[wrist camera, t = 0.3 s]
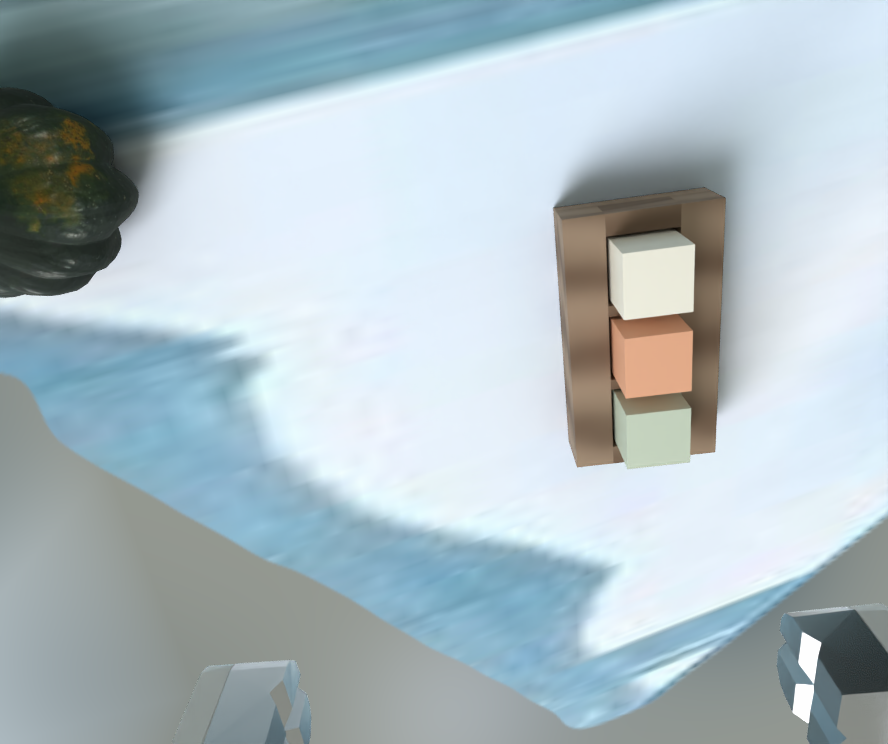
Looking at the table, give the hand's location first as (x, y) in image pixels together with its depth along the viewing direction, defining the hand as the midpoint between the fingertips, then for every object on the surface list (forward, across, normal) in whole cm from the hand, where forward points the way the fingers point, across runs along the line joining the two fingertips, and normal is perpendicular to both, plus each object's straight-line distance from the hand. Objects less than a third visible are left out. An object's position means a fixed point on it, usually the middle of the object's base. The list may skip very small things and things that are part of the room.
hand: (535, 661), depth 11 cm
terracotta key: (+43, -13, +13) cm, 46 cm away
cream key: (+42, -13, +7) cm, 45 cm away
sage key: (+43, -13, +20) cm, 49 cm away
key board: (+46, -13, +13) cm, 50 cm away
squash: (+46, +32, -5) cm, 57 cm away
